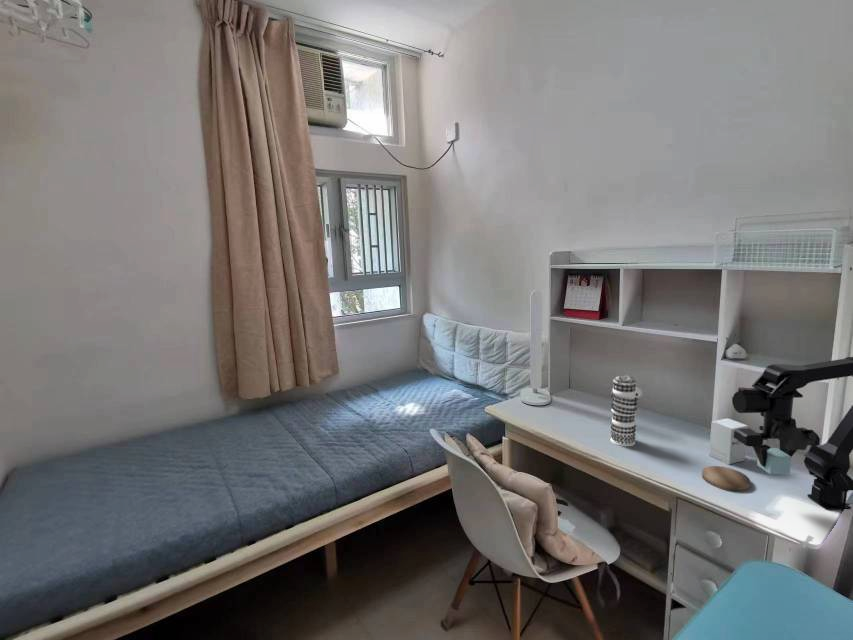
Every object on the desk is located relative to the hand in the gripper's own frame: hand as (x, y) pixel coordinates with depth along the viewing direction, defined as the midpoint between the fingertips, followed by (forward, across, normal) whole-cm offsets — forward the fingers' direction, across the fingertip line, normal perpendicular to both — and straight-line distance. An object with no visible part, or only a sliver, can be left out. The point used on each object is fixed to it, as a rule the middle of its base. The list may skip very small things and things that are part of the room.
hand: (773, 465), depth 116 cm
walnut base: (+11, -5, +12) cm, 17 cm away
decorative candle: (+11, -25, +40) cm, 48 cm away
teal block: (+1, 0, 0) cm, 1 cm away
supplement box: (+11, +4, +26) cm, 28 cm away
